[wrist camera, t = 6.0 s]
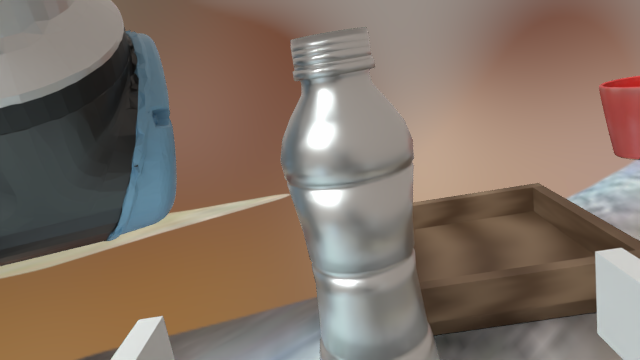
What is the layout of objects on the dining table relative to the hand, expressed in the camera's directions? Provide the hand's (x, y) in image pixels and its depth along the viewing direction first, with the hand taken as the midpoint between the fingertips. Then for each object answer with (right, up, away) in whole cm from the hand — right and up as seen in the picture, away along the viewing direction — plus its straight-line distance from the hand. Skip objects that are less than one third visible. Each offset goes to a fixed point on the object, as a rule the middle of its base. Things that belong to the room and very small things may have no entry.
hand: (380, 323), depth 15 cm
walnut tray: (+12, -3, +26) cm, 29 cm away
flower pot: (+42, +8, +49) cm, 65 cm away
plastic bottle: (+2, -8, +12) cm, 15 cm away
